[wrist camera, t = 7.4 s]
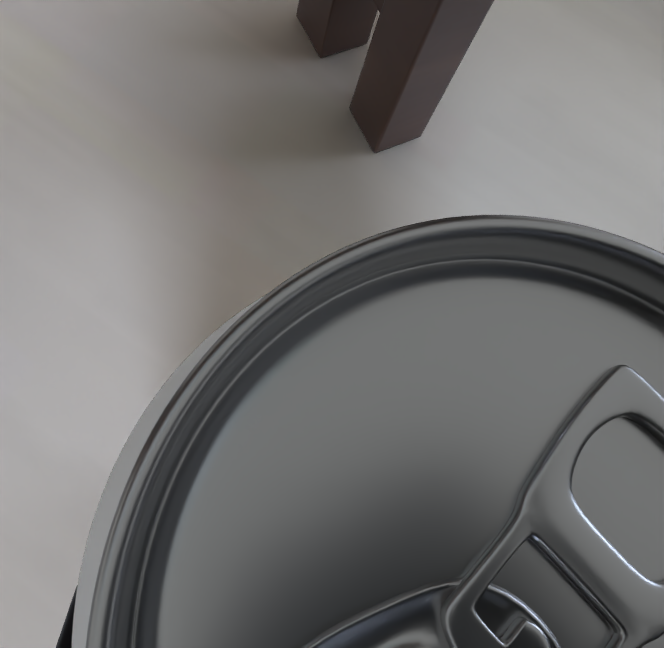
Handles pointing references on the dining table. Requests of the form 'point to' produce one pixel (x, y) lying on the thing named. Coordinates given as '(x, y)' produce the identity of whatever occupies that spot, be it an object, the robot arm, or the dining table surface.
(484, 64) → the dining table surface
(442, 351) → the can
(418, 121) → the desk
